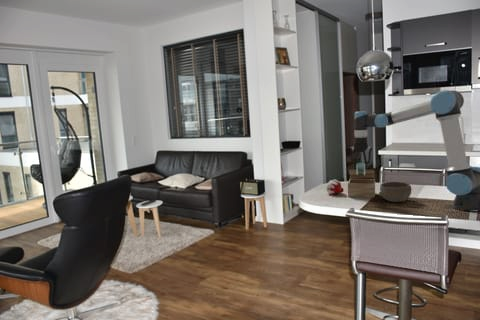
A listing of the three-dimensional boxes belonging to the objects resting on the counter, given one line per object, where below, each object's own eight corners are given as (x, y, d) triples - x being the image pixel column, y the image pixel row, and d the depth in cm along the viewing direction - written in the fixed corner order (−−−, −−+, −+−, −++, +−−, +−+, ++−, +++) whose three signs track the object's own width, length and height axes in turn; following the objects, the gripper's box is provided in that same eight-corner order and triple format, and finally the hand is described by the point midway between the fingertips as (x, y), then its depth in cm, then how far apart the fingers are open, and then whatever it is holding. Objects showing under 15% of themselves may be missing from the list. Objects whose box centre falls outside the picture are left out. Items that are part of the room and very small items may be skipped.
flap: (373, 168, 237) (373, 163, 239) (347, 168, 242) (347, 162, 244) (374, 181, 256) (374, 176, 257) (350, 181, 261) (350, 175, 263)
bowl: (375, 201, 236) (375, 185, 234) (386, 195, 249) (386, 180, 248) (405, 205, 225) (405, 188, 223) (414, 199, 238) (415, 183, 237)
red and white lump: (332, 189, 270) (348, 196, 257) (320, 192, 264) (336, 198, 251) (333, 177, 267) (350, 183, 255) (321, 179, 262) (337, 185, 249)
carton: (374, 197, 245) (374, 183, 244) (347, 196, 250) (347, 183, 249) (375, 192, 258) (375, 179, 257) (349, 191, 263) (349, 178, 262)
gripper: (375, 136, 241) (375, 173, 244) (347, 136, 247) (347, 173, 250) (375, 137, 234) (375, 176, 237) (346, 137, 240) (346, 175, 243)
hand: (360, 174), depth 243 cm, fingers closed on flap, 4 cm apart
